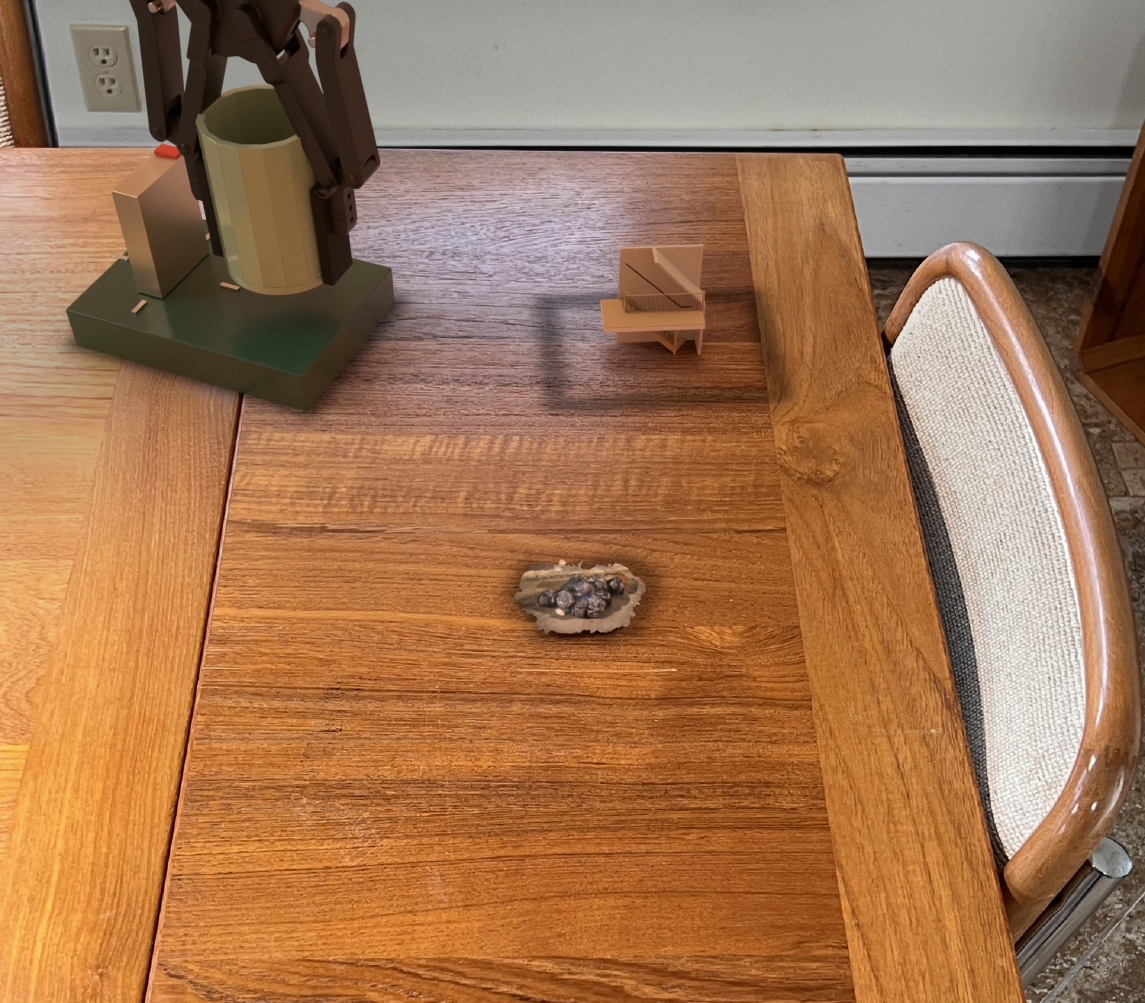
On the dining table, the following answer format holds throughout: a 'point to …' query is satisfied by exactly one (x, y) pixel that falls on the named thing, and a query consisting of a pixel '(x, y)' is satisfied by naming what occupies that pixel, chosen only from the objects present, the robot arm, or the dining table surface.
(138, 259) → the gold upright block
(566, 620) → the blueberries
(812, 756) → the dining table surface
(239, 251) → the cup
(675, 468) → the dining table surface
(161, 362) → the green base plate
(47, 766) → the dining table surface
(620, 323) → the architectural model
